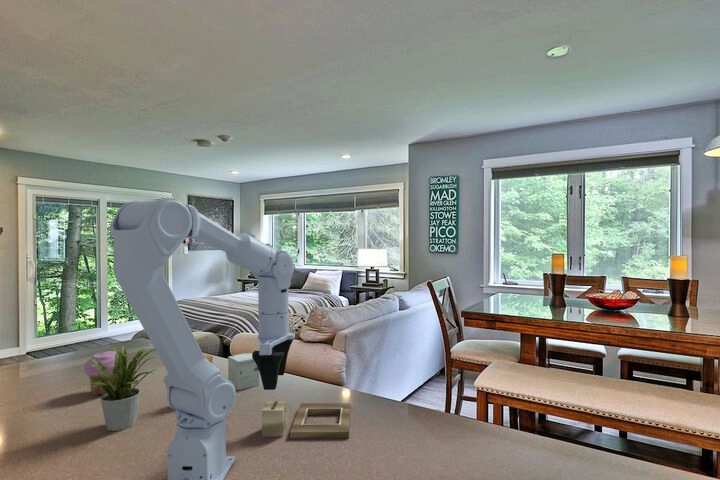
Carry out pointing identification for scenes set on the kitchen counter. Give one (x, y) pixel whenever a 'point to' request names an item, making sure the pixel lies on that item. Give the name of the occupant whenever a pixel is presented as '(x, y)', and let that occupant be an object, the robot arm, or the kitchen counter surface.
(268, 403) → the beige block with stripe
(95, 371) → the cupcake
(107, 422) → the house plant
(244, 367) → the skincare box
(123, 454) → the kitchen counter surface
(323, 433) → the plate
